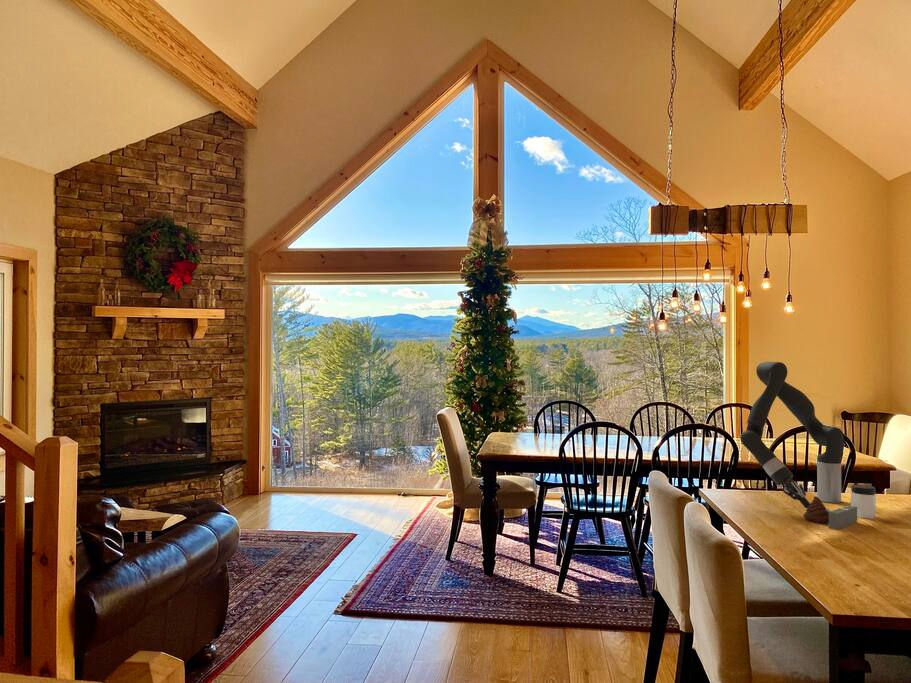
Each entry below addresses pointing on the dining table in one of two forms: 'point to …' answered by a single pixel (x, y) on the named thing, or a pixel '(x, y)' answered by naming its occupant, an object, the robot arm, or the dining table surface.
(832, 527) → the rail
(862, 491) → the jar
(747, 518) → the dining table surface
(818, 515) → the poop emoji
